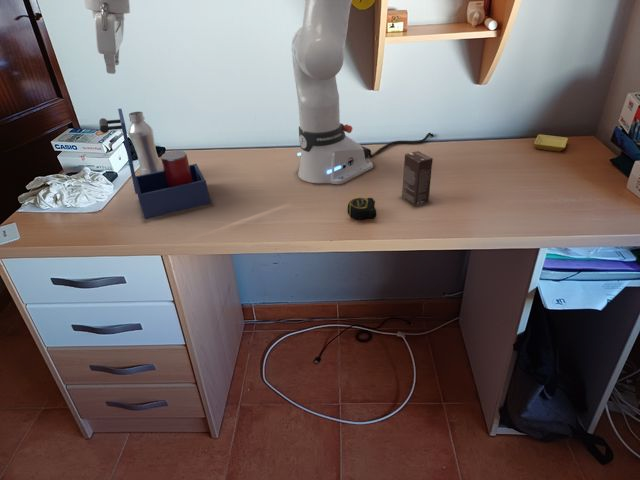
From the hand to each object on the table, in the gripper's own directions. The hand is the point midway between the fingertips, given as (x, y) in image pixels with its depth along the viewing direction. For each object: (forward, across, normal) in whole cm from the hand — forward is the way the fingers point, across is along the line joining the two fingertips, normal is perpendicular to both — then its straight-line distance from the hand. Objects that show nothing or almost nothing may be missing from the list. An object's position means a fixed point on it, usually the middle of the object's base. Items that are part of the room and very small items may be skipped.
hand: (113, 68), depth 104 cm
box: (+21, -27, -71) cm, 79 cm away
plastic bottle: (+34, +13, -7) cm, 37 cm away
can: (+31, -5, -15) cm, 35 cm away
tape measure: (+24, -30, -56) cm, 68 cm away
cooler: (+32, -5, -13) cm, 35 cm away
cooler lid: (+18, -6, -3) cm, 19 cm away
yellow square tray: (+10, -11, -124) cm, 125 cm away
